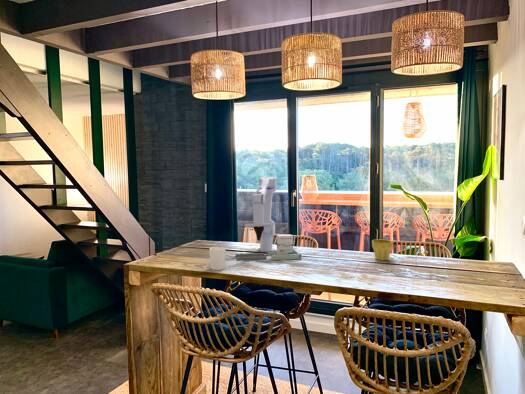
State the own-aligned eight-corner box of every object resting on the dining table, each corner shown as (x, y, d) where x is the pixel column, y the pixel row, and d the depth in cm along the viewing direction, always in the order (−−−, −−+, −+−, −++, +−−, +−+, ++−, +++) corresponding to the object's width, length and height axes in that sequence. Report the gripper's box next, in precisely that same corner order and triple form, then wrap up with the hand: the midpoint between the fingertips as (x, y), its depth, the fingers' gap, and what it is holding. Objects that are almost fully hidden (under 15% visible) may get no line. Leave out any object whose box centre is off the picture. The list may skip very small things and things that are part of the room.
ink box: (291, 254, 226) (291, 234, 225) (293, 256, 221) (293, 235, 220) (276, 255, 225) (276, 234, 224) (278, 257, 220) (278, 236, 219)
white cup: (206, 268, 197) (206, 248, 196) (218, 265, 202) (218, 246, 202) (217, 271, 191) (216, 250, 191) (229, 268, 197) (229, 248, 196)
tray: (267, 254, 228) (267, 250, 228) (295, 253, 230) (295, 249, 230) (271, 260, 214) (271, 255, 214) (301, 258, 216) (301, 254, 216)
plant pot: (373, 261, 210) (373, 242, 209) (370, 256, 220) (370, 239, 219) (393, 261, 209) (394, 242, 208) (389, 257, 219) (390, 239, 218)
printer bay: (235, 256, 223) (235, 254, 222) (264, 255, 225) (264, 252, 225) (236, 260, 214) (236, 257, 214) (266, 259, 216) (266, 256, 216)
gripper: (246, 216, 214) (246, 242, 215) (273, 216, 216) (273, 241, 217) (244, 215, 221) (244, 239, 222) (270, 214, 223) (270, 238, 224)
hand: (258, 240), depth 220 cm, fingers closed
